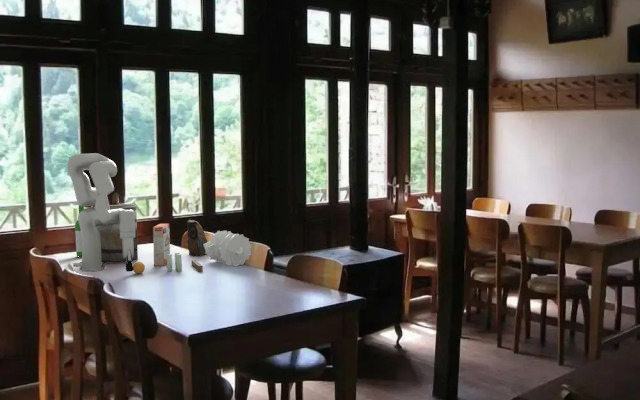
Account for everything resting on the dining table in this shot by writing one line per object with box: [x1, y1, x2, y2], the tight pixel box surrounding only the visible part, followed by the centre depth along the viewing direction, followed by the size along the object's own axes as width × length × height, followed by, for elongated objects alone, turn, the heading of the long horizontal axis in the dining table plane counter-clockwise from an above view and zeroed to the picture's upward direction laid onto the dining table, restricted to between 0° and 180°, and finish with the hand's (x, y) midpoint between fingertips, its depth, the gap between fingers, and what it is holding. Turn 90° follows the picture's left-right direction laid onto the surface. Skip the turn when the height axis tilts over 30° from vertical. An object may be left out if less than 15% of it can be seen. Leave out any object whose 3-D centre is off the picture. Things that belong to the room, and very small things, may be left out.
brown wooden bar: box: [190, 259, 204, 273], centre depth 356 cm, size 2×18×3 cm, turn 22°
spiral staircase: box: [203, 230, 253, 267], centre depth 367 cm, size 18×18×25 cm
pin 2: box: [176, 253, 183, 273], centre depth 350 cm, size 2×2×8 cm
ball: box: [132, 261, 146, 275], centre depth 345 cm, size 6×6×6 cm
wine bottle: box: [74, 204, 85, 258], centre depth 392 cm, size 8×8×30 cm
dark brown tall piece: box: [186, 219, 209, 258], centre depth 395 cm, size 13×13×20 cm
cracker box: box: [152, 223, 171, 267], centre depth 370 cm, size 14×6×21 cm, turn 179°
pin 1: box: [174, 252, 181, 271], centre depth 355 cm, size 2×2×8 cm
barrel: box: [93, 204, 139, 264], centre depth 378 cm, size 22×22×30 cm
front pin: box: [166, 253, 173, 272], centre depth 351 cm, size 2×2×8 cm
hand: (129, 271), depth 343 cm, fingers closed
